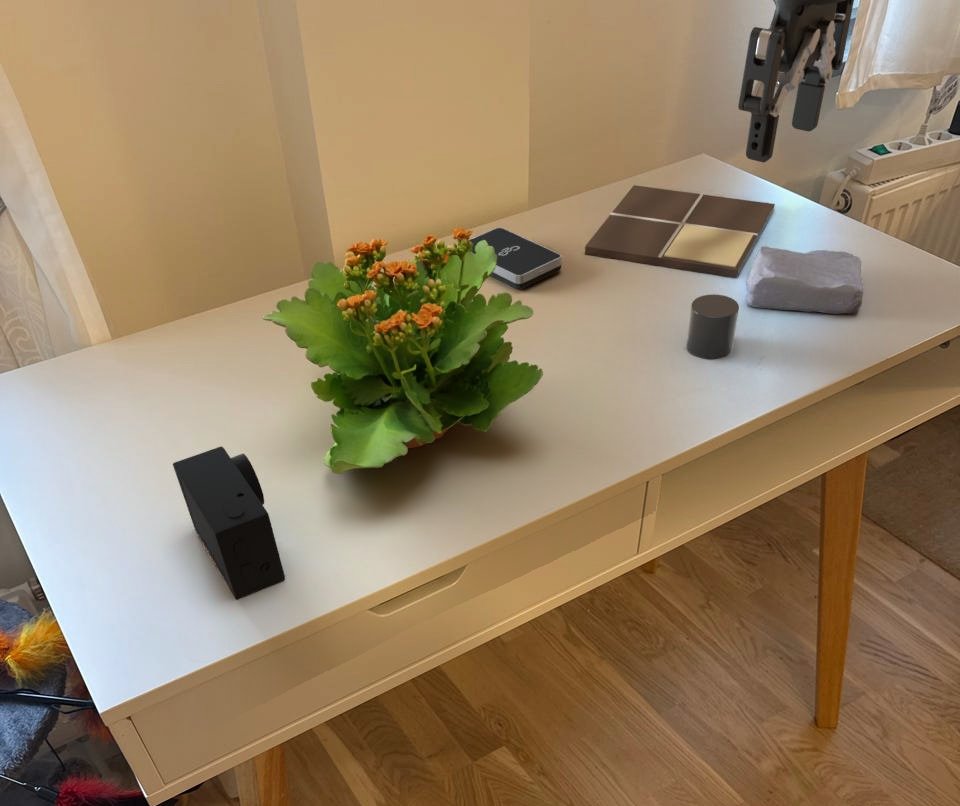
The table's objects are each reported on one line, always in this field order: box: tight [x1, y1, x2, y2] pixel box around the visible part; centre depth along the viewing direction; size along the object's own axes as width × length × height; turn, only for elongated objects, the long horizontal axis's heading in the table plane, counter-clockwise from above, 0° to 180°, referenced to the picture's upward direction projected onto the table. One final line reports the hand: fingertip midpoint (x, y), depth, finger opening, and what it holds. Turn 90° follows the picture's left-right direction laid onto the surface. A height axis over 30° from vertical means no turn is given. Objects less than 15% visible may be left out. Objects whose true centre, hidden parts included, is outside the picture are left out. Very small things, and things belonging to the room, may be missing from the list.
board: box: [584, 184, 776, 279], centre depth 115 cm, size 18×18×1 cm
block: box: [745, 245, 864, 315], centre depth 104 cm, size 12×5×10 cm
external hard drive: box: [457, 227, 563, 291], centre depth 111 cm, size 7×11×2 cm, turn 41°
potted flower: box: [262, 227, 544, 475], centre depth 86 cm, size 25×24×18 cm
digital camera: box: [172, 446, 286, 600], centre depth 77 cm, size 10×5×7 cm, turn 30°
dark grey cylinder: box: [686, 294, 740, 360], centre depth 96 cm, size 5×5×4 cm
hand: (781, 143), depth 86 cm, fingers open, 8 cm apart
